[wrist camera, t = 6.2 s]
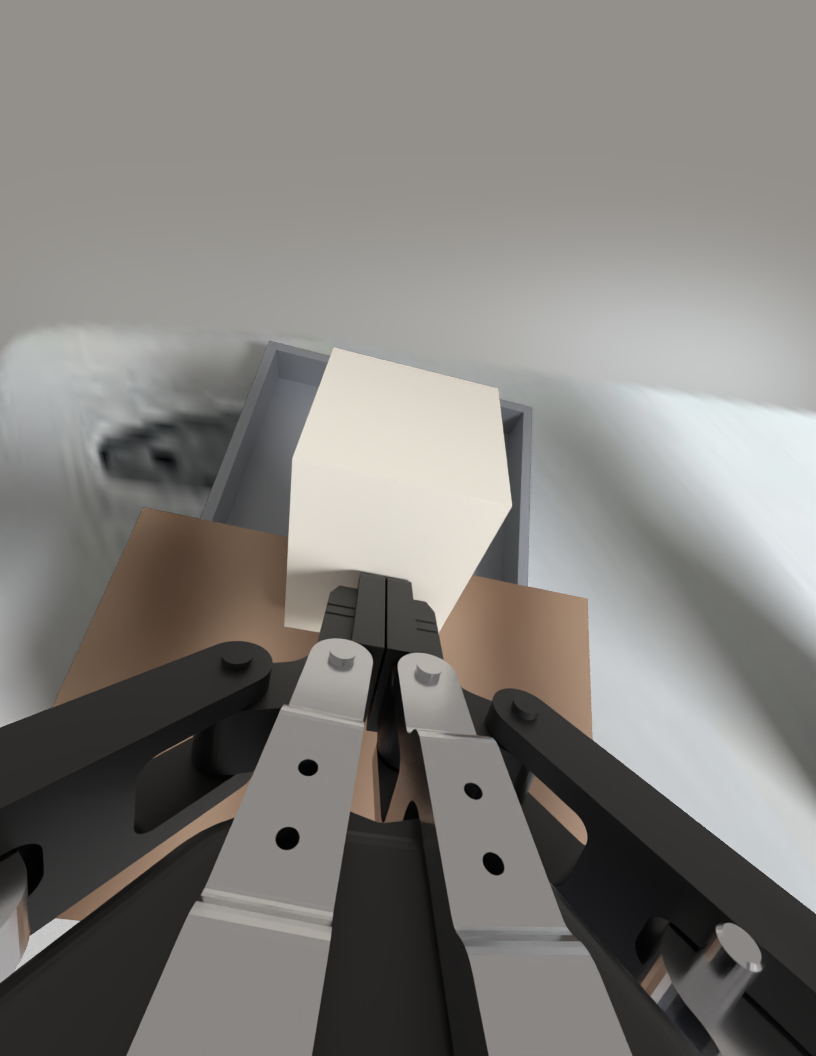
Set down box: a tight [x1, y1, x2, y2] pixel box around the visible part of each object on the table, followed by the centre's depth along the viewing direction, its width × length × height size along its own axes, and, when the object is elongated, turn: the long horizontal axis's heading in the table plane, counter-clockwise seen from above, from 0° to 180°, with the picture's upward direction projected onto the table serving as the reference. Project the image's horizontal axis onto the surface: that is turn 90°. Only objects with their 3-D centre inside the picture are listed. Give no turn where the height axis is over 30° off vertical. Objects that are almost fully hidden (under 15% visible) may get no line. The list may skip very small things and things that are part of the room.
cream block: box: [284, 348, 512, 633], centre depth 14 cm, size 5×5×8 cm
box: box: [200, 341, 532, 586], centre depth 28 cm, size 18×15×3 cm
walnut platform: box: [52, 507, 592, 921], centre depth 19 cm, size 18×12×9 cm, turn 82°
